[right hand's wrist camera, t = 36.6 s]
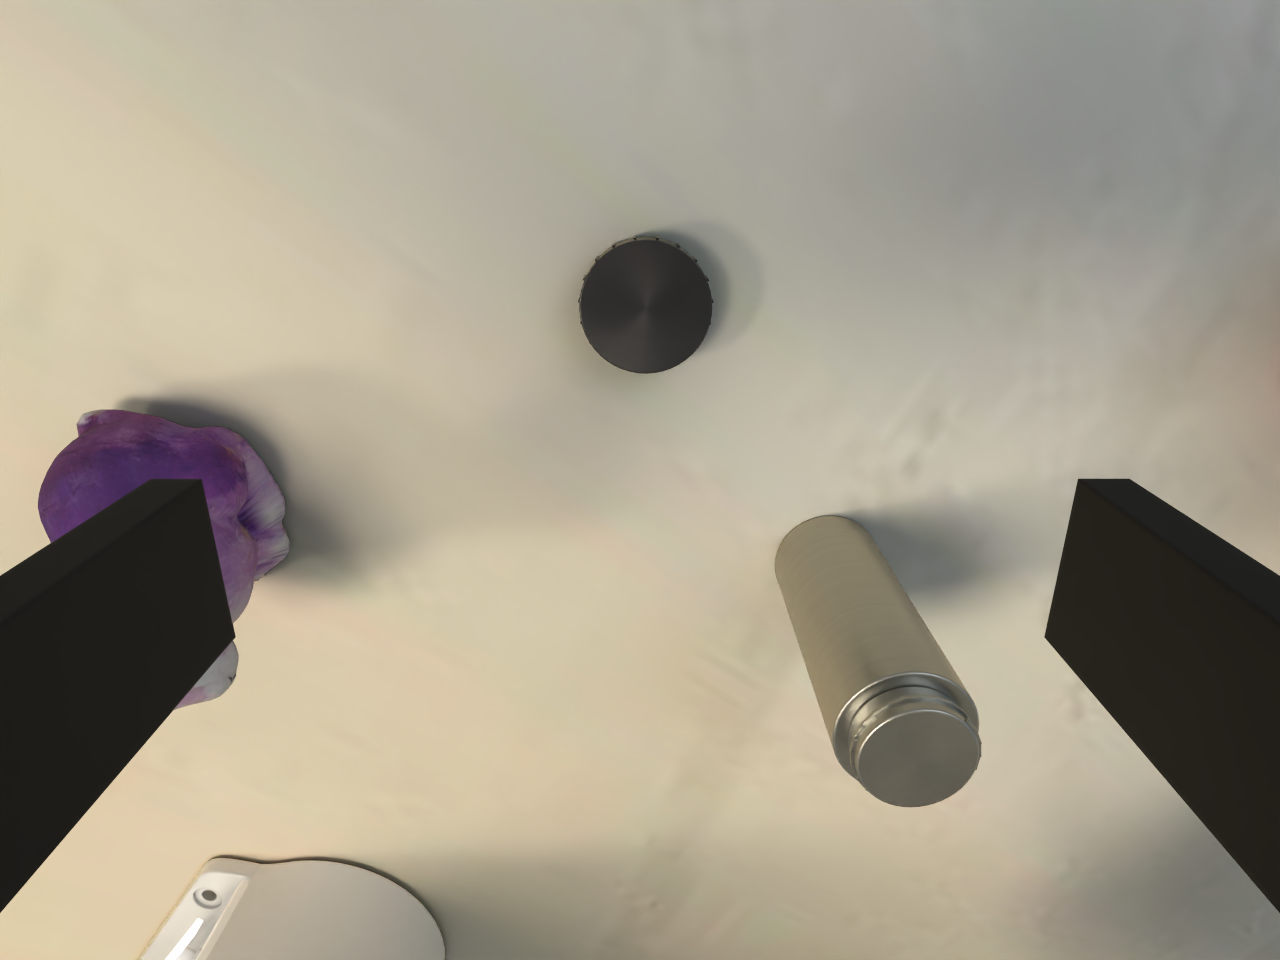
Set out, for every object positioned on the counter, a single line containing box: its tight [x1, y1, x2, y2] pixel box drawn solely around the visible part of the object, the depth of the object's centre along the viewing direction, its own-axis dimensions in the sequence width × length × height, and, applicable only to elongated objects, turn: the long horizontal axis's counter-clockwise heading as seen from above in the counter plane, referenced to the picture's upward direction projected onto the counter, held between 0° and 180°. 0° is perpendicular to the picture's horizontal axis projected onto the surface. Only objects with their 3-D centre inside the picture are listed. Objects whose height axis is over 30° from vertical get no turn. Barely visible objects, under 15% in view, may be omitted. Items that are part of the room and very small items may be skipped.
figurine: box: [38, 410, 290, 710], centre depth 33 cm, size 9×10×15 cm
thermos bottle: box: [775, 516, 982, 807], centre depth 34 cm, size 5×5×15 cm
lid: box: [578, 236, 713, 373], centre depth 36 cm, size 6×6×2 cm
